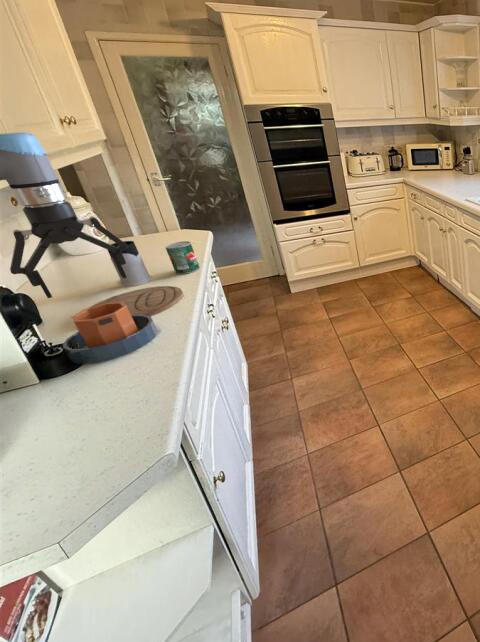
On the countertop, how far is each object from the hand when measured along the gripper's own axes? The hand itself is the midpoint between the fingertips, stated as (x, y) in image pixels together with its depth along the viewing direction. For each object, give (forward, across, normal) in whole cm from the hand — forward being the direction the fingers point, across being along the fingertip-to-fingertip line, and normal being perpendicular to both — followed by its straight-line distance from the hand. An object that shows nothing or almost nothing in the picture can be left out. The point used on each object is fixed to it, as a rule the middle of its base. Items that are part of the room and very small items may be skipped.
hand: (88, 286), depth 99 cm
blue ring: (+19, 0, +1) cm, 19 cm away
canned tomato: (+19, +29, +51) cm, 62 cm away
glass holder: (+19, +15, +57) cm, 62 cm away
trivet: (+19, +9, +27) cm, 34 cm away
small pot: (+18, 0, +1) cm, 18 cm away
